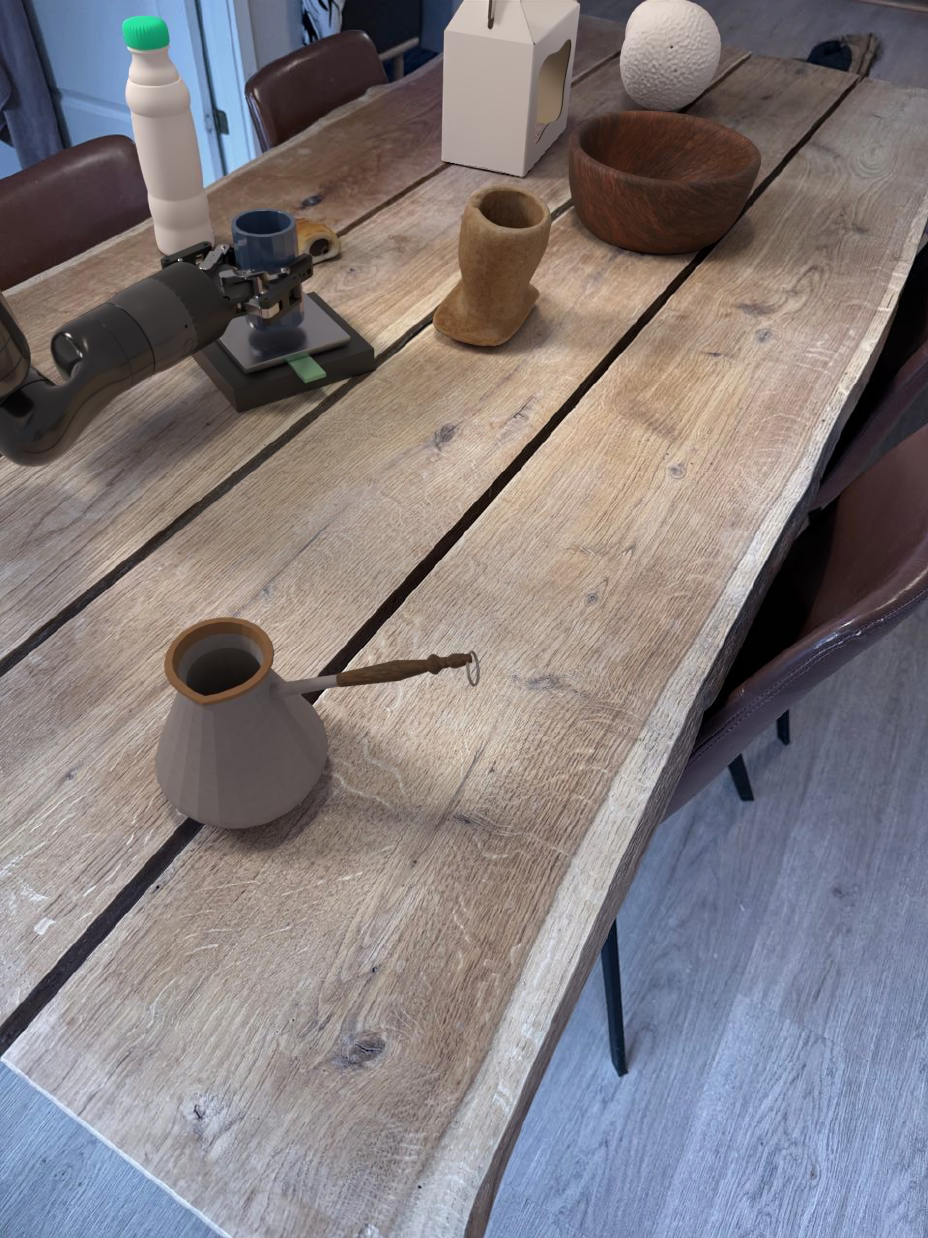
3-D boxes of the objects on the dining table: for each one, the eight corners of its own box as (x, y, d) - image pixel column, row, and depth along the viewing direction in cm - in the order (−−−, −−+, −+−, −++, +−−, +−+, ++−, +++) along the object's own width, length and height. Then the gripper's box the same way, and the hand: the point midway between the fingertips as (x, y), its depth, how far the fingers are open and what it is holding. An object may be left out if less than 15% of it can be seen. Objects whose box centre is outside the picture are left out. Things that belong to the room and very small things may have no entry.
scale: (246, 423, 91) (241, 398, 89) (185, 348, 100) (180, 324, 97) (384, 378, 97) (383, 354, 95) (316, 311, 106) (314, 288, 104)
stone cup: (517, 365, 100) (530, 231, 89) (419, 339, 103) (420, 205, 92) (562, 304, 109) (579, 175, 98) (472, 281, 112) (478, 154, 101)
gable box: (490, 114, 151) (503, -97, 130) (566, 128, 148) (591, -86, 127) (440, 162, 136) (445, -67, 116) (523, 179, 134) (543, -53, 113)
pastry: (267, 239, 118) (264, 209, 115) (314, 228, 120) (312, 199, 117) (299, 269, 112) (296, 239, 110) (347, 258, 115) (346, 228, 112)
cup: (260, 338, 92) (246, 241, 85) (235, 311, 96) (220, 215, 88) (315, 322, 95) (306, 227, 87) (288, 297, 98) (278, 203, 91)
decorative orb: (658, 135, 147) (679, 22, 135) (578, 104, 156) (591, -6, 144) (731, 109, 157) (757, 1, 145) (652, 81, 165) (670, -24, 153)
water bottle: (223, 254, 114) (186, 25, 96) (168, 265, 112) (119, 32, 93) (204, 231, 118) (165, 7, 100) (151, 241, 116) (101, 13, 97)
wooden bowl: (648, 283, 114) (664, 200, 106) (523, 209, 127) (530, 130, 119) (779, 236, 124) (803, 157, 116) (652, 171, 137) (665, 97, 130)
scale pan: (245, 374, 91) (244, 367, 91) (203, 324, 97) (201, 317, 97) (350, 343, 96) (350, 336, 95) (304, 297, 102) (303, 290, 101)
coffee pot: (140, 838, 60) (78, 701, 49) (191, 700, 67) (147, 554, 56) (462, 871, 59) (473, 739, 48) (476, 727, 67) (488, 586, 56)
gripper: (215, 306, 77) (337, 235, 87) (96, 258, 82) (225, 196, 92) (228, 382, 83) (342, 308, 92) (116, 333, 87) (235, 268, 97)
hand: (283, 253), depth 92 cm, fingers closed on cup, 6 cm apart
